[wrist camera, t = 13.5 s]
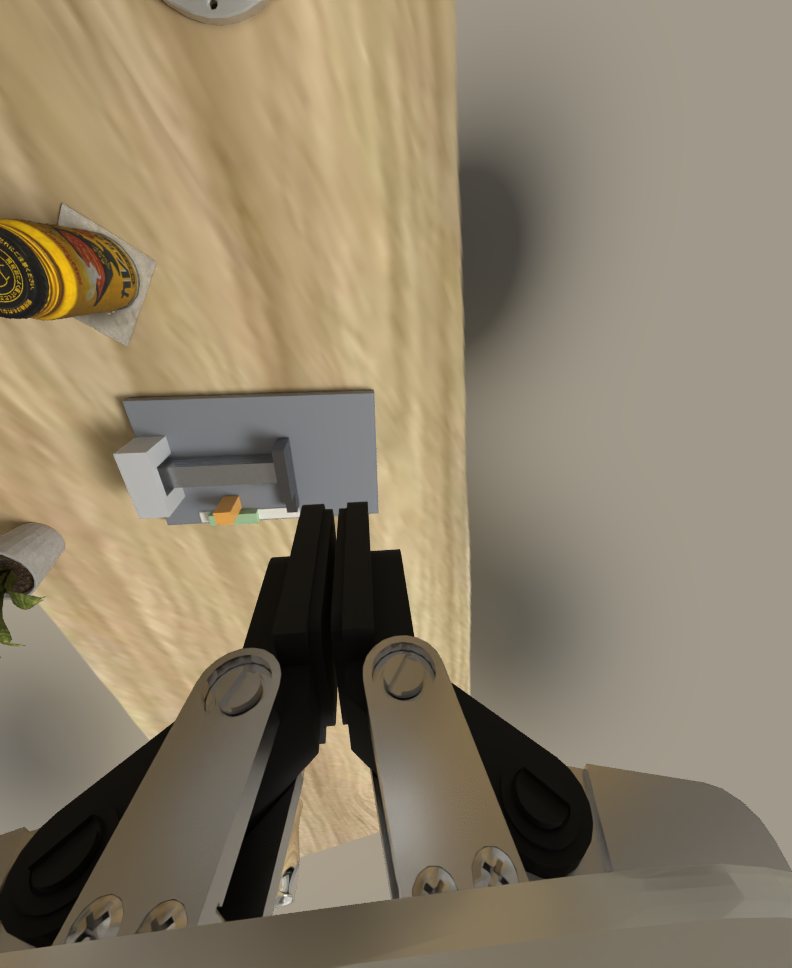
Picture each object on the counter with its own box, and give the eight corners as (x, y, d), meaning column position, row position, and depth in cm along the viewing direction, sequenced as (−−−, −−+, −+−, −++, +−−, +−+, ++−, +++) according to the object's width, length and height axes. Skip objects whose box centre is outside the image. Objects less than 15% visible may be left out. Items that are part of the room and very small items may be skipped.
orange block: (222, 496, 43) (212, 513, 40) (239, 495, 44) (230, 512, 40) (226, 508, 44) (216, 525, 41) (241, 507, 44) (233, 524, 41)
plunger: (141, 443, 39) (123, 457, 36) (289, 437, 41) (283, 450, 38) (166, 512, 44) (152, 529, 41) (299, 504, 45) (295, 521, 42)
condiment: (157, 261, 33) (65, 256, 23) (128, 346, 36) (36, 376, 26) (64, 203, 31) (-87, 167, 20) (41, 299, 34) (-100, 311, 23)
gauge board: (128, 397, 38) (96, 415, 34) (373, 390, 40) (376, 405, 36) (172, 519, 46) (151, 547, 41) (377, 507, 48) (380, 533, 43)
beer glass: (266, 803, 82) (249, 902, 69) (293, 792, 81) (281, 892, 68) (285, 813, 86) (272, 911, 72) (311, 804, 84) (303, 901, 71)
